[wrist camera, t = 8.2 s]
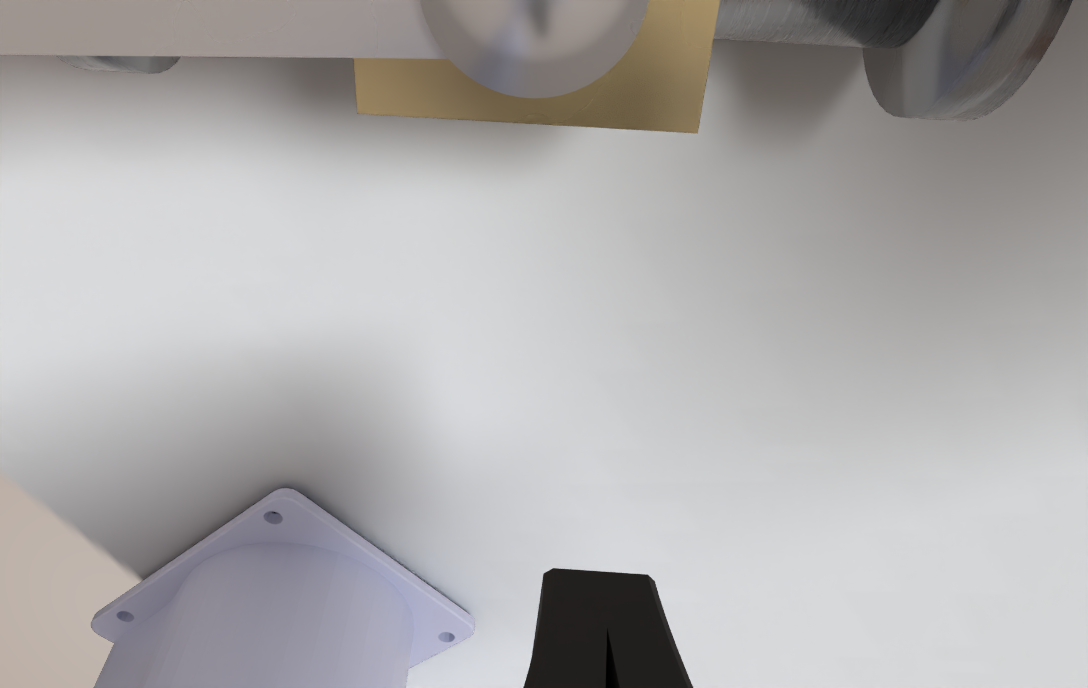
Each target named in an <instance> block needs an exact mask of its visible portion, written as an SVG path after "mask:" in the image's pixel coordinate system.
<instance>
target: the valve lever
mask: <svg viewBox="0 0 1088 688" xmlns="http://www.w3.org/2000/svg"><path fill="white" fill-rule="evenodd" d="M648 2H649V0H0V55H78V56H188V57H298V58H407V59H449V60H450V61H451V62H452V63H453V64H454V65H455V66H456V67H457V68H458V69H460V70H461V71H462V72H463V73H464V74H465V75H467V76H468V77H470V78H471V79H473V80H474V81H476V82H477V83H479V84H481V85H483V86H485V87H487V88H489V89H491V90H494V91H497V92H500V93H503V94H506V95H511V96H516V97H522V98H549V97H554V96H560V95H564V94H567V93H570V92H573V91H576V90H578V89H581V88H583V87H585V86H587V85H589V84H591V83H592V82H594V81H595V80H597V79H599V78H600V77H602V76H603V75H604V74H605V73H606V72H608V71H609V70H610V69H611V68H612V67H613V66H614V65H615V64H616V63H617V62H618V61H619V60H620V59H621V58H622V57H623V56H624V54H625V53H626V51H627V50H628V49H629V47H630V46H631V45H632V43H633V41H634V39H635V37H636V36H637V34H638V32H639V30H640V27H641V25H642V22H643V20H644V17H645V13H646V10H647V6H648Z"/></svg>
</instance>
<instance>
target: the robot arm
mask: <svg viewBox="0 0 1088 688" xmlns="http://www.w3.org/2000/svg"><path fill="white" fill-rule="evenodd" d="M271 511H273V512H277V513H279V514H275V513H273V512H271ZM91 628H92V629H93V630H94V632H96V633H97V634H98V635H100V636H102V637H104V638H105V639H107V640H109V641H111V642H113V643H114V645H113V647H112V649H111V651H110V654H109V656H108V658H107V660H106V662H105V665H104V667H103V669H102V671H101V673H100V675H99V678H98V680H97V682H96V684H95V686H94V688H406V682H407V676H408V669H409V668H411V667H413V666H415V665H417V664H419V663H421V662H423V661H425V660H427V659H429V658H430V657H432V656H434V655H436V654H438V653H440V652H442V651H444V650H446V649H448V648H450V647H452V646H454V645H455V644H457V643H459V642H461V641H463V640H465V639H467V638H469V637H470V636H472V635H473V633H474V629H475V621H474V618H473V617H472V616H471V615H470V614H468V613H467V612H465V611H464V610H463V609H461V608H460V607H458V606H457V605H456V604H454V603H453V602H451V601H450V600H449V599H447V598H446V597H445V596H443V595H442V594H440V593H439V592H438V591H436V590H435V589H433V588H432V587H431V586H429V585H428V584H426V583H425V582H424V581H422V580H421V579H419V578H418V577H417V576H415V575H414V574H412V573H411V572H410V571H408V570H407V569H405V568H404V567H403V566H401V565H400V564H398V563H397V562H396V561H394V560H393V559H392V558H390V557H389V556H387V555H386V554H385V553H383V552H382V551H380V550H379V549H378V548H376V547H375V546H373V545H372V544H371V543H369V542H368V541H366V540H365V539H364V538H362V537H361V536H359V535H358V534H357V533H355V532H354V531H352V530H351V529H350V528H348V527H347V526H346V525H344V524H343V523H341V522H340V521H339V520H337V519H336V518H334V517H333V516H332V515H330V514H329V513H327V512H326V511H325V510H323V509H322V508H320V507H319V506H318V505H316V504H315V503H313V502H312V501H311V500H309V499H308V498H306V497H305V496H304V495H302V494H301V493H299V492H298V491H296V490H294V489H289V488H281V489H278V490H275V491H273V492H272V493H270V494H269V495H267V496H266V497H265V498H263V499H262V500H260V501H259V502H257V503H256V504H254V505H253V506H251V507H250V508H248V509H247V510H246V511H244V512H243V513H241V514H240V515H238V516H237V517H235V518H234V519H232V520H231V521H229V522H228V523H227V524H225V525H224V526H222V527H221V528H219V529H218V530H216V531H215V532H213V533H212V534H210V535H209V536H208V537H206V538H205V539H203V540H202V541H200V542H199V543H197V544H196V545H194V546H193V547H191V548H190V549H189V550H187V551H186V552H184V553H183V554H181V555H180V556H178V557H177V558H175V559H174V560H172V561H171V562H170V563H168V564H167V565H165V566H164V567H162V568H161V569H159V570H158V571H156V572H155V573H153V574H152V575H151V576H149V577H148V578H146V579H145V580H143V581H142V582H140V583H139V584H137V585H136V586H134V587H133V588H132V589H130V590H129V591H127V592H126V593H125V594H123V595H122V596H120V597H118V598H117V599H116V600H114V601H113V602H111V603H110V604H108V605H107V606H105V607H104V608H102V609H101V610H100V611H98V612H97V613H96V614H95V616H94V618H93V620H92V622H91ZM524 688H693V686H692V684H691V681H690V679H689V677H688V674H687V672H686V669H685V667H684V664H683V662H682V659H681V657H680V654H679V652H678V649H677V646H676V644H675V641H674V638H673V636H672V633H671V630H670V628H669V625H668V622H667V619H666V616H665V613H664V610H663V607H662V604H661V601H660V598H659V595H658V591H657V588H656V584H655V581H654V580H653V579H652V578H651V577H650V576H649V575H644V574H629V573H615V572H600V571H585V570H571V569H556V568H553V569H551V570H549V571H547V572H546V573H544V574H543V582H542V589H541V596H540V603H539V610H538V617H537V625H536V632H535V639H534V646H533V653H532V659H531V663H530V667H529V671H528V674H527V678H526V681H525V685H524Z"/></svg>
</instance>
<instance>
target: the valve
mask: <svg viewBox="0 0 1088 688" xmlns="http://www.w3.org/2000/svg"><path fill="white" fill-rule="evenodd" d="M1072 1H1073V0H649V2H648V6H647V10H646V13H645V17H644V20H643V22H642V25H641V27H640V30H639V32H638V34H637V36H636V37H635V39H634V41H633V43H632V45H631V46H630V47H629V49H628V50H627V51H626V53H625V54H624V56H623V57H622V58H621V59H620V60H619V61H618V62H617V63H616V64H615V65H614V66H613V67H612V68H611V69H610V70H609V71H608V72H606V73H605V74H604V75H603V76H602V77H600V78H599V79H597V80H595V81H594V82H592V83H591V84H589V85H587V86H585V87H583V88H581V89H578V90H576V91H573V92H570V93H567V94H564V95H560V96H554V97H549V98H522V97H516V96H511V95H506V94H503V93H500V92H497V91H494V90H491V89H489V88H487V87H485V86H483V85H481V84H479V83H477V82H476V81H474V80H473V79H471V78H470V77H468V76H467V75H465V74H464V73H463V72H462V71H461V70H460V69H458V68H457V67H456V66H455V65H454V64H453V63H452V62H451V61H450V60H449V59H407V58H353V59H354V73H355V87H356V101H357V114H371V115H389V116H406V117H423V118H441V119H458V120H475V121H493V122H510V123H528V124H545V125H562V126H580V127H597V128H614V129H632V130H649V131H666V132H684V133H698V128H699V122H700V116H701V110H702V104H703V98H704V92H705V86H706V80H707V74H708V68H709V62H710V56H711V50H712V44H713V38H716V39H732V40H749V41H766V42H782V43H799V44H815V45H832V46H849V47H862V51H863V59H864V65H865V70H866V74H867V78H868V82H869V85H870V87H871V90H872V92H873V95H874V97H875V98H876V100H877V101H878V103H879V105H880V106H881V107H882V108H883V109H884V110H885V111H886V112H888V113H890V114H891V115H893V116H898V117H905V118H923V119H940V120H957V121H967V120H974V119H977V118H980V117H982V116H985V115H987V114H989V113H990V112H992V111H993V110H995V109H996V108H998V107H999V106H1001V105H1002V104H1003V103H1004V102H1005V101H1006V100H1007V99H1008V98H1010V97H1011V96H1012V95H1013V94H1014V93H1015V92H1016V91H1017V89H1018V88H1019V87H1020V86H1021V85H1022V84H1023V83H1024V82H1025V80H1026V79H1027V78H1028V77H1029V75H1030V74H1031V73H1032V71H1033V70H1034V68H1035V67H1036V66H1037V64H1038V63H1039V62H1040V60H1041V59H1042V57H1043V55H1044V54H1045V52H1046V50H1047V49H1048V47H1049V46H1050V44H1051V42H1052V41H1053V39H1054V37H1055V35H1056V33H1057V32H1058V30H1059V28H1060V26H1061V24H1062V22H1063V20H1064V18H1065V16H1066V14H1067V12H1068V10H1069V8H1070V5H1071V3H1072ZM56 56H57V57H58V58H60V59H61V60H62V61H64V62H66V63H68V64H70V65H72V66H74V67H77V68H81V69H85V70H100V71H117V72H134V73H161V72H163V71H166V70H168V69H169V68H170V67H172V66H173V65H174V64H176V62H177V61H178V60H179V59H180V57H181V56H78V55H56Z"/></svg>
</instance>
